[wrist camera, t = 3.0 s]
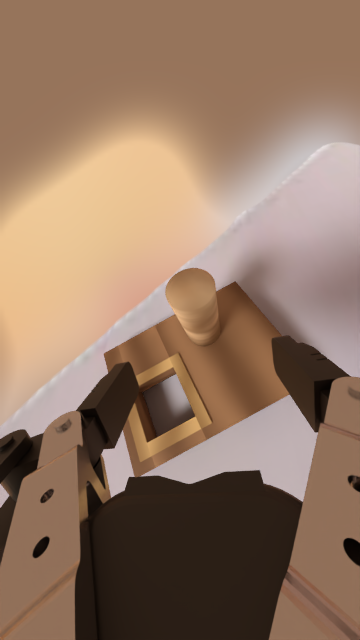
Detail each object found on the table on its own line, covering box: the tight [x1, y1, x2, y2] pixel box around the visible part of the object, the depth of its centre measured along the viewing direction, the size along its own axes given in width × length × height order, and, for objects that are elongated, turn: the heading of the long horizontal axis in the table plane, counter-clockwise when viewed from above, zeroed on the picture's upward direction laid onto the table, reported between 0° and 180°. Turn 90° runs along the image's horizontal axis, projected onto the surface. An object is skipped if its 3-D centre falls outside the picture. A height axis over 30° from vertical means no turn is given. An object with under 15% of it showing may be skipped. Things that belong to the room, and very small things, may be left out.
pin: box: [165, 268, 220, 346], centre depth 18 cm, size 4×4×9 cm
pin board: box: [104, 282, 289, 477], centre depth 22 cm, size 20×14×3 cm
